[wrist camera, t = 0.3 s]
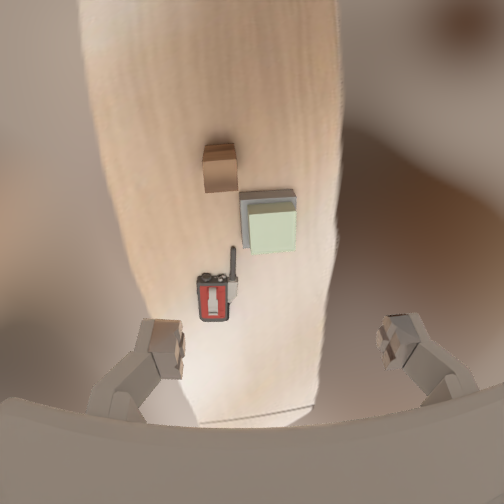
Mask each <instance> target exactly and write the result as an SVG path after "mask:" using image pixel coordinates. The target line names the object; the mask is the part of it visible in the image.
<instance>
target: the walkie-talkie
mask: <svg viewBox="0 0 504 504" xmlns="http://www.w3.org/2000/svg"><path fill="white" fill-rule="evenodd" d="M235 266H236V249H235V248H231V270H230V277H227V276H226V275H225V274H222V276H211V275H210V274H203V275H202V276H199V277H198V281H197V294H198V301H199V315H200V319H201V320H202V321H204V322H223V321H227V320H228V319H229V305H230V303H232V300H233V299H234V298H235V297H236V296H237V285H238V277H236V274H235Z"/></svg>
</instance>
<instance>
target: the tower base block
mask: <svg viewBox="0 0 504 504" xmlns="http://www.w3.org/2000/svg"><path fill="white" fill-rule="evenodd" d="M239 197H240V215H241V233H242V244H243V248H250V244H249V228H248V212H247V205H251V204H263V203H277V202H291V201H292V203H293V205H294V207H295V209H296V198H297V197H296V195H295V193H294V191H293V189H290V190H272V191H255V192H240V193H239Z"/></svg>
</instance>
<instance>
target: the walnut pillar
mask: <svg viewBox="0 0 504 504" xmlns="http://www.w3.org/2000/svg"><path fill="white" fill-rule="evenodd" d="M202 166H203V176H204V186H205V193H214V192H226V191H238V177H237V159H236V154H235V148H234V143H232V144H218V145H207V146H205V149H204V154H203V160H202Z"/></svg>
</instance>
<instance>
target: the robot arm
mask: <svg viewBox="0 0 504 504" xmlns="http://www.w3.org/2000/svg"><path fill="white" fill-rule="evenodd" d="M382 323H383V325H382V326H381V327H380V328H379V329H378V331H377V334H376V344H377V347H378V350H379V351H380V352H382V353H383V355H382V357H381V359H382V362H383V365H384V368H385V370H395V369H402V370H403V371H404V372H405V373H406V374H407V375H408V376H409V377H410V378H411V379H412V380H413V382H414V383H415V384H416V385H417V386H418V387H419V388H420V389H421V390H422V391H423V392H424V393H425V394H426V395H427V396H428V397H427V398H426V399H425V400H424V401H423V402H422V404H421V405H420V408H415V409H411V410H406V411H401V412H397V413H392V414H386V415H381V416H375V417H370V418H363V419H357V420H350V421H342V422H334V423H325V424H315V425H304V426H290V427H272V428H199V427H180V426H167V425H156V424H147V423H146V420H145V419H144V417H143V415H142V414H141V412H140V411H139V409H138V408H139V407H140V406H141V405H142V403H143V402H144V401H145V400H146V398H147V397H148V396H149V395H150V393H151V392H152V391H153V389H154V388H155V387H156V386H157V385H158V383H159V382H160V381H161V379H180V380H182V374H183V366H184V365H183V361H182V358H183V357H184V356H185V335H184V333H183V332H182V328H183V325H182V321H181V320H165V319H147V318H144V319H143V320H142V322H141V325H140V329H139V333H138V337H137V341H136V345H135V349H134V351H130V352H129V353H128V354H127V355H126V356H125V357H124V358H123V359H122V360H121V361H120V362H118V364H116V365H115V366H114V367H113V368H112V369H111V370H110V371H109V372H108V373H107V374H106V375H105V376H104V377H102V378H101V379H100V380H99V381H98V382H97V383H96V384H95V385H94V386H93V388H92V391H91V394H90V398H89V402H88V406H87V410H86V414H81V413H76V412H71V411H67V410H62V409H58V408H54V407H50V406H45V405H42V404H38V403H34V402H31V401H27V400H23V399H20V398H16V397H10V398H8V399H6V400H5V401H3V402H2V403H0V504H504V382H503V383H500V384H498V385H495V386H492V387H489V388H486V389H483V390H479V388H478V386H477V383H476V381H475V379H474V376H473V374H472V372H471V370H470V368H468V367H467V366H466V365H465V364H463V363H462V362H461V361H460V360H458V359H457V358H456V357H454V356H453V355H452V354H451V353H449V352H448V351H447V350H445V349H444V348H443V347H442V346H440V345H439V344H438V343H437V342H435V341H431V339H430V337H429V334H428V332H427V331H426V328H425V326H424V324H423V322H422V320H421V318H420V316H419V314H418V313H407V314H395V315H386V316H385V317H384V318H383V320H382Z"/></svg>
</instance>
